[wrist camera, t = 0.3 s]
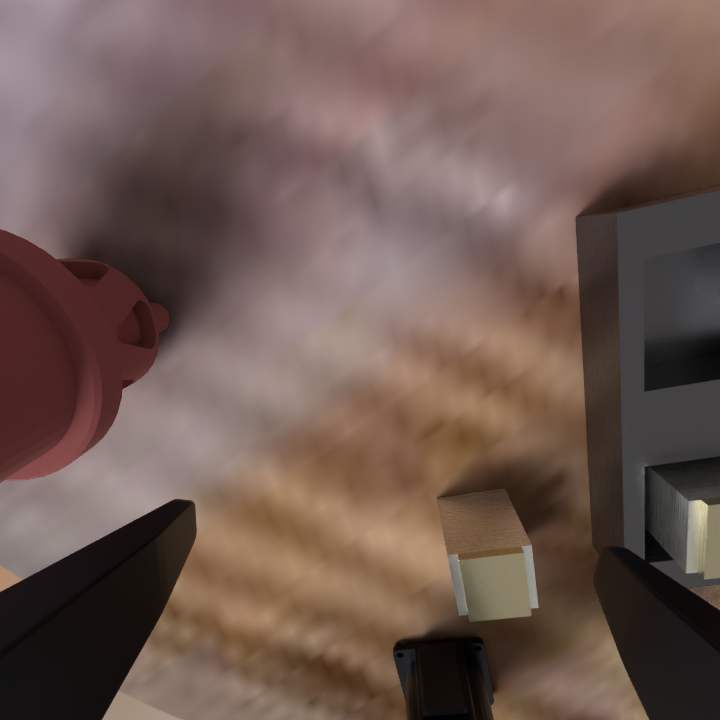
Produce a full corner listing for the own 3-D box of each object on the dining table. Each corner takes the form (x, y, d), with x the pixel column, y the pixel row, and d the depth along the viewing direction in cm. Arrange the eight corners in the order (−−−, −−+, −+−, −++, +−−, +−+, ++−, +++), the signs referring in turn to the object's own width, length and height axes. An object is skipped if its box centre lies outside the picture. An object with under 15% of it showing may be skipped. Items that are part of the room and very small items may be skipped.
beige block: (705, 498, 22) (792, 570, 17) (628, 508, 23) (692, 580, 18) (708, 435, 21) (803, 493, 16) (627, 447, 22) (695, 507, 17)
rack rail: (731, 528, 23) (788, 577, 20) (592, 545, 24) (625, 594, 21) (758, 176, 18) (845, 162, 14) (575, 217, 19) (616, 213, 15)
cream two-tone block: (511, 542, 25) (541, 614, 20) (446, 550, 25) (460, 622, 21) (504, 487, 24) (534, 551, 19) (436, 497, 24) (448, 561, 19)
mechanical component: (3, 236, 21) (179, 218, 20) (62, 405, 24) (217, 396, 23) (-497, 235, 9) (-122, 192, 8) (-255, 570, 12) (39, 564, 11)
